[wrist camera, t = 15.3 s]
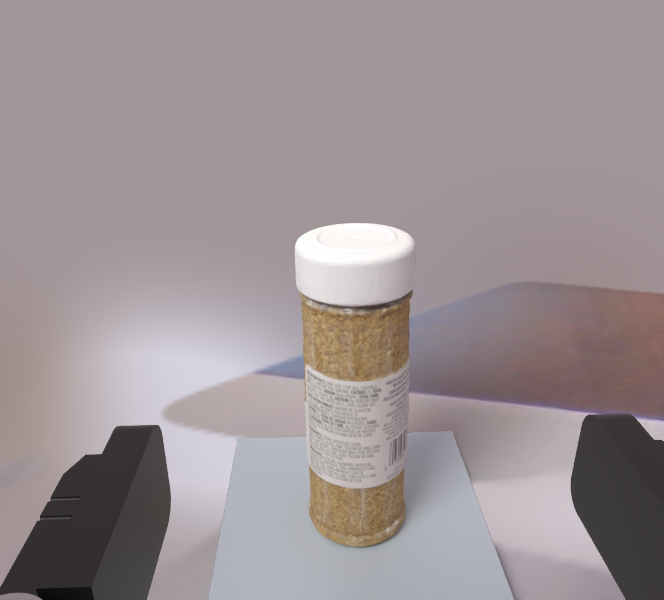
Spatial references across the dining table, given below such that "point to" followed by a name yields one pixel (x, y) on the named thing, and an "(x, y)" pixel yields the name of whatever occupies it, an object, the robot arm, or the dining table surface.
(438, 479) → the pad
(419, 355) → the dining table surface
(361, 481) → the sprinkles bottle
